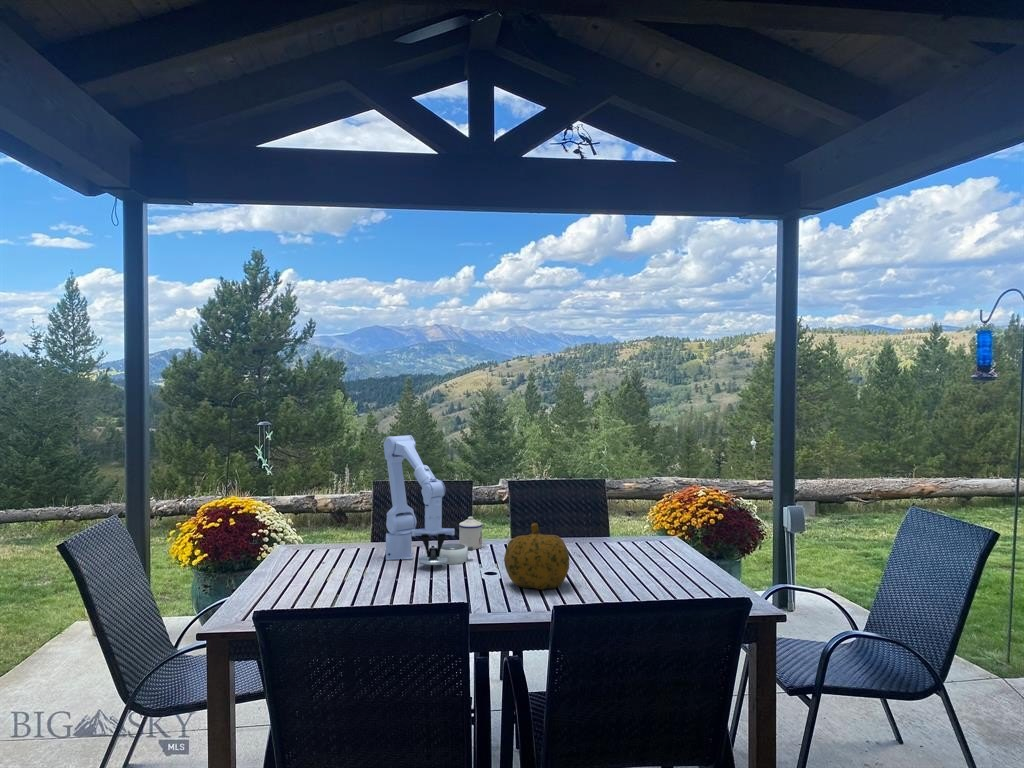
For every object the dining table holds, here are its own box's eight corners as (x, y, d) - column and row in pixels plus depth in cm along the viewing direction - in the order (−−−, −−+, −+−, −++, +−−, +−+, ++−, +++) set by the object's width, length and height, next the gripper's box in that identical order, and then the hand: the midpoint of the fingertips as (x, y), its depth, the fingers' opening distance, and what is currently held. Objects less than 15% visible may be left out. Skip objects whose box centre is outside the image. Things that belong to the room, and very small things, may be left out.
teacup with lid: (484, 549, 278) (484, 518, 278) (461, 550, 275) (461, 519, 275) (477, 542, 289) (477, 512, 289) (455, 543, 287) (455, 514, 287)
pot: (432, 565, 254) (432, 550, 254) (431, 557, 265) (431, 543, 265) (474, 563, 256) (474, 549, 256) (471, 556, 267) (471, 542, 267)
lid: (417, 565, 245) (417, 551, 245) (419, 558, 255) (419, 545, 255) (447, 564, 246) (447, 551, 246) (448, 557, 256) (448, 544, 256)
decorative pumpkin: (553, 596, 214) (550, 527, 216) (494, 591, 226) (491, 526, 227) (584, 583, 231) (580, 519, 233) (527, 579, 243) (524, 518, 244)
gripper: (412, 519, 245) (411, 559, 246) (455, 518, 247) (455, 558, 248) (411, 515, 252) (411, 554, 253) (453, 514, 254) (453, 553, 255)
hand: (433, 556), depth 251 cm, fingers closed on lid, 3 cm apart
